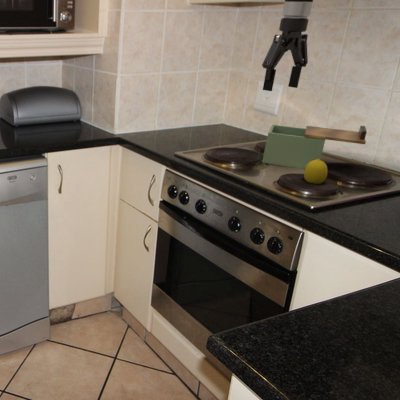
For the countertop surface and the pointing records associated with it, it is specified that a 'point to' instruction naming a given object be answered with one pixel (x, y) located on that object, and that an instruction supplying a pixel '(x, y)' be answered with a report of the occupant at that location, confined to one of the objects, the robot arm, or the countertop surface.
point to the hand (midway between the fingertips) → (280, 88)
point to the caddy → (291, 147)
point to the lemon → (315, 172)
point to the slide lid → (337, 134)
